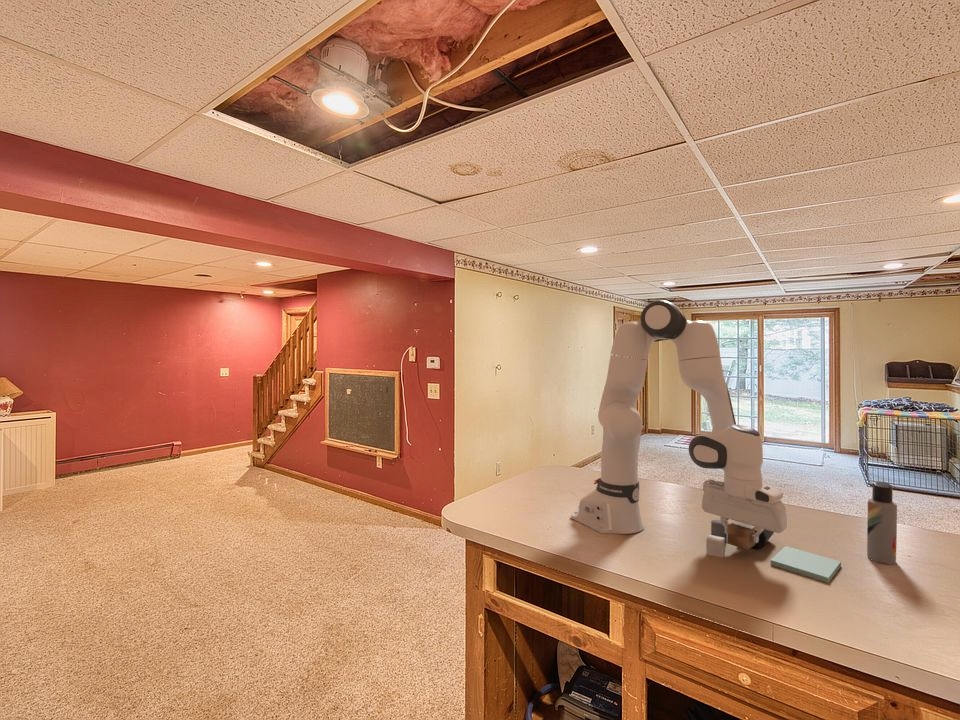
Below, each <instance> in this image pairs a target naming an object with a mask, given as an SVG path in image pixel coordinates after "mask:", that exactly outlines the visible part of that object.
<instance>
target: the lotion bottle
mask: <svg viewBox="0 0 960 720" xmlns="http://www.w3.org/2000/svg"><path fill="white" fill-rule="evenodd" d="M897 527H898V505H897V503H896V502H893V485H892V484H890V483H889V482H885V481H874V482H872V496H871V498H869V499H868V500H867V527H866V530H867V531H866V534H867V535H866V546H867V547H866V556H867V558H868V559H870V560H871V561H873V562H876V563H879V564H884V565H894V564H896V562H897V539H898V538H897V533H898V532H897V531H898V530H897V529H898V528H897Z"/></svg>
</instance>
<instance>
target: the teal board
mask: <svg viewBox="0 0 960 720" xmlns="http://www.w3.org/2000/svg"><path fill="white" fill-rule="evenodd" d="M770 565H771V566H774V567H776V568H777V567H778V568H781V569H783V570H786V571H790V572H792V573H796V574H799V575H802V576H805V577H809V578H812V579H815V580H818V581H822V582H825V583H830V581H832V579H833V578H834V576H835V575H836V574H837V572H838V571H839V569H841V567H842V561H840V560H837V559H833V558H830V557H826V556H823V555H819V554H816V553H812V552H808V551H805V550H801V549H798V548H795V547H791V546H787V545H786V546H784V547H783V548H781V550H780V551H779V552H777V554H776V555H774V556H773V557H772V558H771V559H770Z"/></svg>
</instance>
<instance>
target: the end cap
mask: <svg viewBox="0 0 960 720" xmlns="http://www.w3.org/2000/svg"><path fill="white" fill-rule="evenodd" d="M756 532H757V531H756V530H755V533H756ZM774 534H775V532H773V531H769V530H766V529H764V530H763V532H762V533H761V534H760V535H759V541H758V543H755V545H754V546H753V547H751V548H750V549H752V550H757V549H760V548H762V547H764V546H765V545H766V543H767V542H768V541H769V540H770V539H771V537H772V536H773V535H774Z"/></svg>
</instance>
